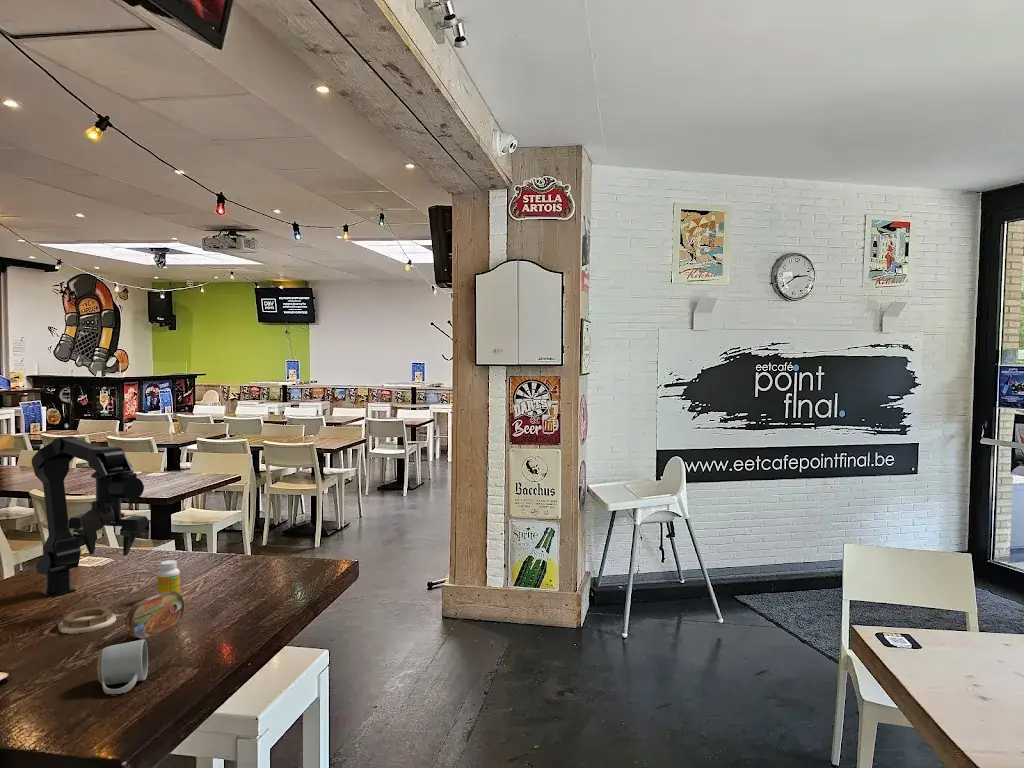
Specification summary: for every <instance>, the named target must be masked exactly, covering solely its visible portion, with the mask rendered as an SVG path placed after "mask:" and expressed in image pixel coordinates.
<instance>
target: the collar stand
mask: <svg viewBox="0 0 1024 768" xmlns="http://www.w3.org/2000/svg"><path fill="white" fill-rule="evenodd" d="M115 621H117V615H116V613H113V611H112V609H110V608H107V607H105V606H101V607H87V608H83V609H79V610H75V611H71V612H69V613H67V614H66V615H65V616H64V617H62V621H60V622H59V623H58V631H59V633H62V634H65V633H67V635H68V634H69V635H78V634H79V633H81V634H87V632H88V633H93V632H97V631H101V630H104V629H106V628H108V626H109V627H111V626H113V625H114V624H115V623H116V622H115ZM113 623H114V624H113ZM110 625H111V626H110ZM105 627H106V628H105ZM103 628H104V629H103ZM100 629H101V630H100ZM96 630H97V631H96ZM79 635H80V634H79Z"/></svg>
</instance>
